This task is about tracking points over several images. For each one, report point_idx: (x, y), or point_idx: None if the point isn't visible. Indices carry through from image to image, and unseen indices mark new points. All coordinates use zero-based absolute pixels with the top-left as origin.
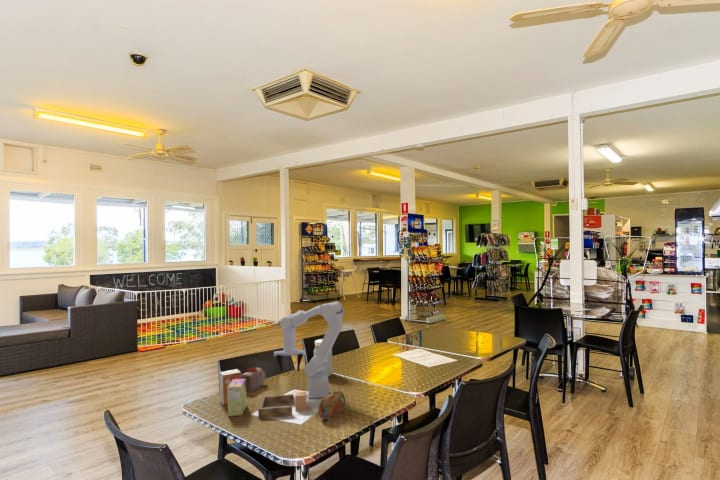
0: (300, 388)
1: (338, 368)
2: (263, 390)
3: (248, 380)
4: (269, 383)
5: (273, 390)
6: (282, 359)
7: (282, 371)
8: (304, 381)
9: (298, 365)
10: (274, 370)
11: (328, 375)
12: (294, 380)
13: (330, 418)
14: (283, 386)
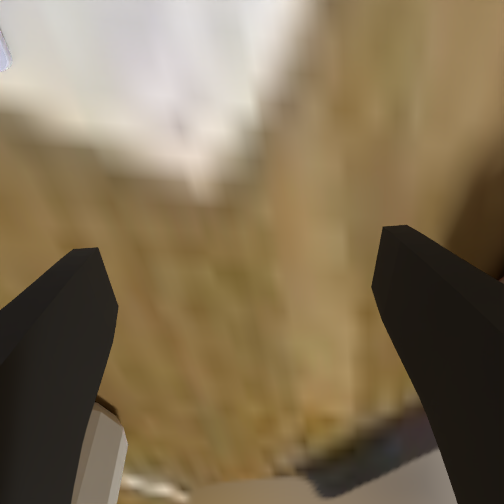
0: (150, 197)
1: None
2: (497, 168)
3: None
4: None
5: (405, 162)
6: (462, 493)
7: (382, 233)
8: (164, 336)
9: (16, 316)
10: (386, 465)
11: None
12: (246, 353)
13: None
14: (317, 250)
